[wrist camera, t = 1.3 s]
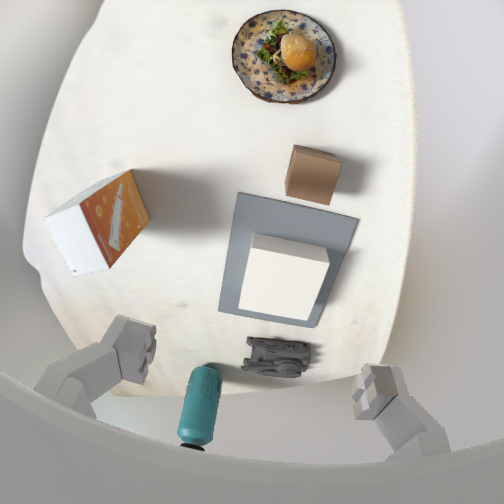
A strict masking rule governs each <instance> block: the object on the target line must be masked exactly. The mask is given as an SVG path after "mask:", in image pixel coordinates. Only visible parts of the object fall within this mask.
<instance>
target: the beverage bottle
mask: <svg viewBox="0 0 504 504" xmlns="http://www.w3.org/2000/svg"><path fill="white" fill-rule="evenodd" d="M190 375H191V377H190V378H189V379H190V381H189V382H188V383H189V385H188V386H187V387H188V389H187V390H186V391H187V392H186V394H185V395H186V397H185V401H184V406H183V411H182V414H181V419H180V423H179V427H178V430H177V434H178V435H179V437H180V438H181V439H182V440H183V441H184V442H186V443H183V444H181V445H180V446H182V447H186V448H191V449H195V450H200V451H205V450H204V448H202V447H200V446H203V445H206V444H208V443H209V442H211V441H212V440H213V431H214V425H215V420H216V414H217V408H218V403H219V398H220V395H221V392H220V390H221V389H222V387H221V384H222V383H223V382H222V376H221V374H220V373H219V372H218V371H217V370H215V369H213V368H210V367H204V366H202V367H197V368H195V369H194V370H193V371H192V373H191V374H190Z"/></svg>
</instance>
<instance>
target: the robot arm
mask: <svg viewBox="0 0 504 504" xmlns="http://www.w3.org/2000/svg"><path fill="white" fill-rule="evenodd" d="M155 334H156V326H155V325H153V324H149V323H146V322H143V321H139V320H136V319H133V318H129V317H126V316H123V315H120V314H118V315H117V316H116V317H115V318H114V320H113V321H112V323H111V325H110V326H109V328H108V330H107V331H106V333H105V335H104V336H103V338H102V340H101V341H100V343H97V342H95V343H93V344H91V345H89V346H87V347H85V348H83V349H81V350H79V351H77V352H75V353H73V354H71V355H69V356H67V357H65V358H63V359H61V360H59V361H57V362H55V363H53V364H51V365H49V366H48V367H47V368H46V370H45V372H44V373H43V375H42V377H41V378H40V380H39V381H38V383H37V385H36V386H35V388H34V390H32V389H30V388H28V387H27V386H25V385H23V384H21V383H20V382H18V381H16V380H14V379H13V378H11V377H9V376H8V375H6V374H5V373H3V372H1V371H0V504H504V439H499V440H496V441H492V442H489V443H486V444H482V445H478V446H475V447H471V448H467V449H462V450H458V451H454V452H451V449H450V446H449V442H448V438H447V435H446V432H445V429H444V428H443V427H442V426H441V425H440V424H439V423H438V422H437V421H436V420H435V419H434V418H433V417H432V416H431V415H430V414H429V413H428V412H427V411H426V410H425V409H424V408H423V407H422V406H421V405H420V404H419V403H418V402H417V401H416V399H415V398H413V396H409V393H408V390H407V387H406V384H405V381H404V378H403V374H402V372H401V368H400V367H399V366H395V365H394V366H393V365H382V364H369V363H367V364H365V365H364V366H363V367H362V369H361V371H362V373H361V374H359V375H357V376H356V377H355V379H354V381H353V383H352V387H351V394H352V398H353V399H354V400H355V401H356V403H355V404H354V413H355V419H356V420H373V422H374V423H375V425H376V426H377V428H378V429H379V430H380V432H381V433H382V435H383V436H384V437H385V439H386V440H387V442H388V443H389V445H390V446H391V447H392V449H393V450H394V453H393V454H392V455H390V456H389V457H388V458H387V459H386V460H385V461H386V462H379V463H365V464H299V463H284V462H272V461H262V460H253V459H246V458H238V457H232V456H226V455H220V454H215V453H209V452H205V451H200V450H195V449H191V448H186V447H182V446H178V445H174V444H170V443H166V442H162V441H159V440H155V439H152V438H148V437H145V436H142V435H138V434H136V433H132V432H129V431H126V430H123V429H121V428H118V427H115V426H112V425H109V424H107V423H104V422H102V421H99V420H96V415H95V413H94V411H93V408H92V406H91V404H90V403H91V402H93V401H94V400H95V399H97V398H98V397H100V396H101V395H103V394H104V393H105V392H107V391H108V390H110V389H111V388H112V387H114V386H115V385H116V384H118V383H119V382H121V381H122V379H123V380H127V381H130V382H133V383H137V384H141V385H143V384H144V381H145V379H146V376H147V374H148V365H149V364H151V363H152V361H153V359H154V355H155V351H156V339H155V338H154V336H155Z"/></svg>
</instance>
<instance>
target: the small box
mask: <svg viewBox="0 0 504 504" xmlns="http://www.w3.org/2000/svg"><path fill="white" fill-rule="evenodd" d="M44 220H45V222H46V225H47V227H48V229H49V231H50V233H51V235H52V238H53V240H54V242H55V244H56V247H57V249H58V251H59V253H60V254H61V256H62V257H63V259H64V261H65V263H66V265H67V266H68V268H69V270H70V272H71V274H72V275H73V277H77V276H81V275H85V274H90V273H94V272H99V271H103V270H107V269H110V268H111V267H112V265H113V264H114V263H115V262H116V261H117V259H118V258H119V257H120V256H121V254H122V253H123V252H124V251H125V250H126V248H127V247H128V246H129V245H130V244H131V242H132V241H133V240H134V239H135V238H136V237H137V236H138V234H139V233H140V232H141V231H142V230H143V228H144V227H145V226H146V225H147V224H148V223H149V221H150V217H149V215H148V213H147V211H146V208H145V206H144V203H143V201H142V198H141V196H140V193H139V191H138V188H137V185H136V183H135V180H134V177H133V174H132V171H131V170H127V171H124V172H122V173H119V174H116V175H114V176H111V177H109V178H106V179H104V180H101V181H99V182H97V183H95V184H93V185H92V186H90V187H89V188H87V189H85V190H84V191H82V192H81V193H79V194H78V195H76V196H75V197H74V198H72V199H71V200H69V201H68V202H66V203H65V204H63V205H62V206H60V207H59V208H58V209H56V210H55V211H53V212H52V213H50V214H49V215H48V216H46V217H45V218H44Z"/></svg>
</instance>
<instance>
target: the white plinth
mask: <svg viewBox="0 0 504 504" xmlns="http://www.w3.org/2000/svg"><path fill="white" fill-rule="evenodd" d="M329 264H330V262H329V259H328V255H327V251H326V248H325V247H320V246H315V245H310V244H306V243H301V242H296V241H291V240H287V239H282V238H277V237H272V236H267V235H262V234H257V233H254V234H253V238H252V243H251V248H250V253H249V257H248V262H247V267H246V271H245V276H244V281H243V285H242V290H241V296H240V302H239V307H238V309H244V310H249V311H254V312H259V313H265V314H270V315H276V316H282V317H288V318H294V319H300V320H306V321H307V320H308V317H309V315H310V313H311V310H312V308H313V305H314V303H315V300H316V298H317V295H318V293H319V290H320V288H321V285H322V283H323V280H324V277H325V275H326V272H327V270H328V267H329Z"/></svg>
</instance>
